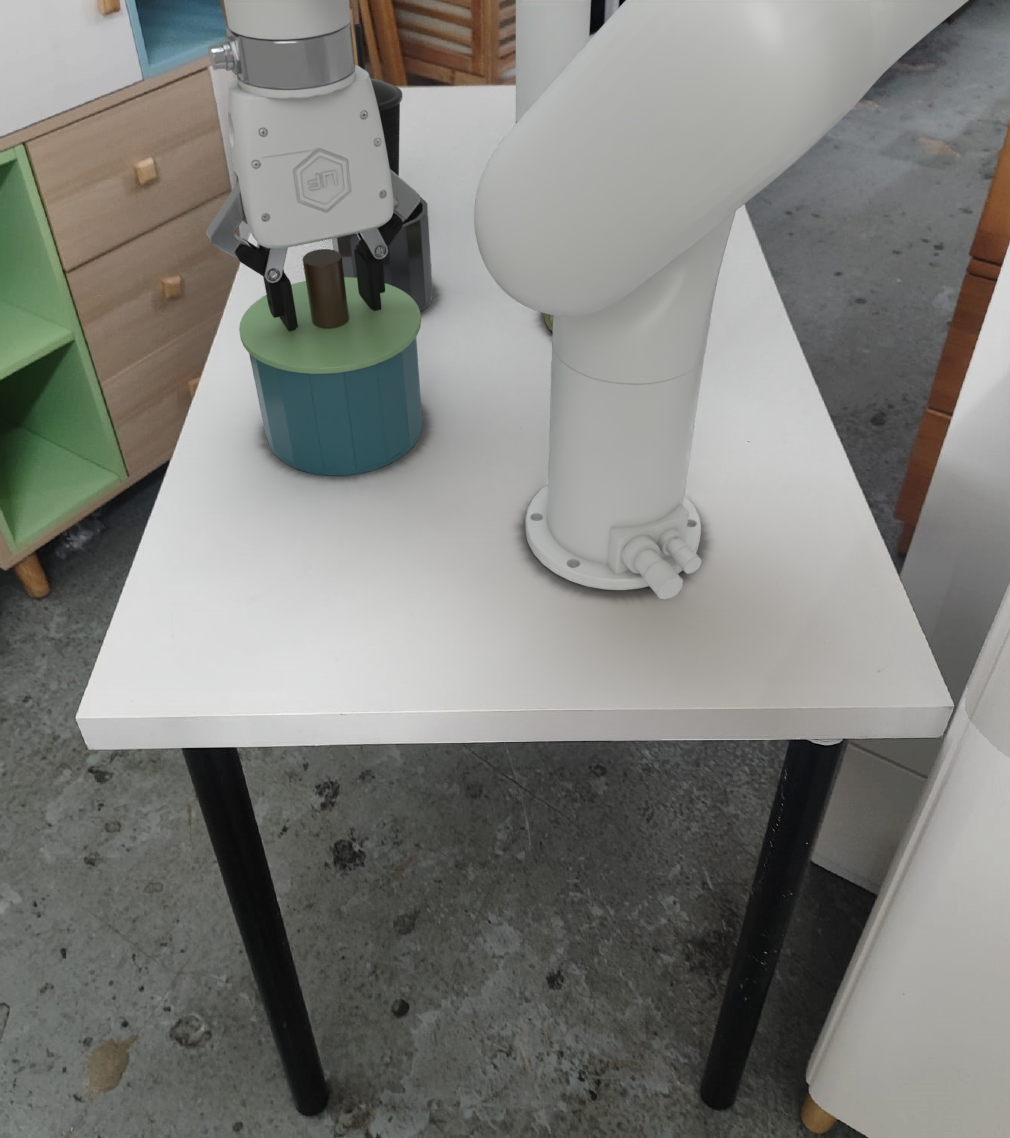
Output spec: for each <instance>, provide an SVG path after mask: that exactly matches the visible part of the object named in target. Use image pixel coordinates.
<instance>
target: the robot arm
mask: <svg viewBox="0 0 1010 1138" xmlns="http://www.w3.org/2000/svg"><path fill="white" fill-rule="evenodd" d="M968 2H969V0H624V1H623V3H622V4H621V5H620V6H619V7H618V8H617V9H616V10H615V11H614V12H613V14H611V16H609V18H608V19H607V20H606V21H605V22H604V23H603V25H602V26H601V27H600V28H599V29H598V30H597V31H596V32H595V33H594V35H593V36H592V37H591V38H589V42H588V43H587V44H586V45H585V46H584V47H583V49H582V50H581V51H580V52H579V53H578V54H577V55H576V57H575V58H574V59H573V60H572V61H571V62H570V63H569V64H568V66H567V67H566V68H565V69H564V70H563V71H562V72H561V73H560V75H559V76H558V77H557V78H556V79H555V80H554V81H553V83H552V84H551V85H550V86H549V87H548V88H547V89H546V90H545V92H544V93H543V94H542V95H541V96H540V97H539V98H538V99H537V101H536V102H535V103H534V104H533V105H532V106H531V107H530V109H529V110H528V111H527V112H526V113H525V114H524V115H523V116H522V118H521V119H520V120H519V121H518V122H517V123H516V122H515V124H514V126H513V127H511V129H510V130H509V131H508V132H507V133H506V135H504V137H503V138H502V140H501V141H500V142H499V143H498V145H497V146H496V147H495V149H494V150H493V151H492V153H491V155H490V157H489V158H488V160H487V162H486V164H485V167H484V169H483V171H482V173H481V175H480V178H479V182H478V185H477V190H476V194H475V200H474V209H473V211H474V212H473V215H474V216H473V221H474V222H473V223H474V233H475V239H476V243H477V247H478V251H479V254H480V256H481V259H482V261H483V263H484V266H485V268H486V269H487V271H488V273H489V276H491V278H492V279H493V280H494V282H495V283H496V285H498V287H500V288H501V290H502V291H503V292H504V293H505V294H506V295H508V296H509V297H510V298H512V299H513V300H514V301H516V302H517V303H519V304H521V305H522V306H524V307H526V308H529V309H531V310H533V311H536V312H539V313H542V314H544V313H546V314H550V315H553V331H552V341H551V363H550V395H549V396H550V398H549V399H550V401H549V432H548V433H549V436H548V439H549V440H548V467H547V468H548V470H547V471H548V473H547V484H546V485H544V486H543V487H542V488H541V489H540V490H539V491H537V493H535V495H534V496H533V497H532V499H531V501H530V503H529V504H528V507H527V509H526V514H525V521H524V522H525V537H526V541H527V544H528V546H529V548H530V550H531V552H532V553H533V555H534V556H535V557H536V558H537V559H538V561H540V563H541V564H542V565H543V566H545V567H546V568H547V569H549V570H550V571H551V572H553V573H554V574H555V575H557V576H560V577H561V578H564V579H565V580H567V581H570V582H572V583H575V584H579V585H581V586H584V587H588V588H594V589H599V590H610V591H627V590H629V591H630V590H638V589H643V588H647V587H649V588H650V589H651V590H652V591H653V592H654V593H655V595H656V596H657V597H658V598H659V599H660V600H663V601H667V600H670V599H672V598H674V597H675V596H677V595H678V594H679V593H680V592H681V590H682V588H683V585H684V579H683V578H682V577H681V576H680V575H679V574H680V573H682V571H683V572H684V573H685V574H687V575H688V574H693V573H695V572H697V571H698V570H699V569H700V568H701V566H702V563H703V562H702V559H701V557H700V556H699V555H698V554H697V553H698V550H699V547H700V542H701V535H702V522H701V517H700V515H699V513H698V510H697V508H696V506H695V504H693V502H692V501H691V500H690V499H689V498H688V496H687V495H686V493H685V492H686V487H687V479H688V472H689V466H690V459H691V452H692V445H693V438H694V431H695V424H696V417H697V410H698V405H699V397H700V390H701V384H702V375H703V369H704V361H705V355H706V353H707V346H708V345H707V344H708V338H709V332H710V324H711V320H712V319H711V318H712V313H713V305H714V300H715V296H716V290H717V285H718V281H719V275H720V271H721V268H722V263H723V259H724V255H725V252H726V248H727V246H728V245H727V244H728V241H729V238H730V234H731V232H732V231H731V230H732V227H733V223H734V219H735V216H736V212H737V211H738V210H739V209H740V208H742V207H743V206H744V205H745V204H747V203H748V202H749V201H751V200H752V199H753V198H754V197H756V195H758V194H759V193H760V192H761V191H763V190H765V188H766V187H768V186H769V185H770V184H771V183H773V182H774V181H775V180H776V179H777V178H779V177H780V176H781V175H782V174H783V173H785V172H786V171H787V170H788V169H789V168H791V167H792V166H793V165H794V164H795V163H797V161H798V160H800V159H801V158H802V157H803V156H804V155H805V154H806V153H807V152H808V151H810V150H811V149H812V148H813V147H814V146H815V145H816V144H817V143H818V142H819V141H820V140H821V139H822V138H824V136H825V135H827V133H828V132H830V131H831V130H832V129H833V128H834V127H836V125H837V124H838V123H839V122H840V121H841V120H842V119H844V117H845V116H846V115H847V114H848V113H849V112H850V111H851V110H853V108H854V107H855V106H856V105H857V104H858V103H859V102H860V100H862V98H863V97H865V95H866V94H867V93H868V91H869V90H870V89H871V88H872V87H873V85H874V84H876V82H877V81H878V80H880V78H881V77H882V76H883V75H884V74H885V73H886V71H887V70H889V69H890V68H891V67H892V66H893V65H894V64H895V63H896V62H897V61H899V59H901V58H902V57H903V56H904V55H905V54H906V53H907V52H908V51H910V49H912V48H913V47H914V46H915V45H916V44H917V43H919V42H920V41H921V40H923V39H924V37H926V36H927V35H929V33H930V32H932V31H933V30H934V29H935V28H937V27H938V26H939V25H940V24H942V23H943V22H944V21H946V19H947V18H949V17H950V16H951V15H952V14H954V13H955V12H956V11H957V10H959V9H960V8H961V7H962V6H964V5H965V4H966V3H968ZM223 5H224V11H225V16H226V21H227V26H226V27H225V32H226V36H224V41H222V42H221V41H220V42H219V44H217V45H210V46H208V56H209V60H210V64H211V67H212V70H214V71H219V70H224V69H225V71H227V72H229V71H231V72H232V73H233V74H234V75H235V77H233V78H231V79H230V80H229V82H228V88H227V90H228V91H227V117H228V118H227V123H228V136H229V137H228V138H229V151H230V159H231V160H230V161H231V170H232V180H233V188H232V189H231V191H230V193H228V196H227V197H226V199H225V200H224V202H223V204H222V205H221V207H220V208H219V210H218V211H217V213H216V214H215V216H214V217H213V219H212V220H211V222H210V223H209V225H208V227H207V228H206V231H205V235H206V237H207V238H208V240H209V242H210V244H211V245H212V246H213V247H215V248H217V249H219V250H220V251H222V252H223V253H226V254H227V255H228V256H230V257H233V258H235V259H236V260H238V261H239V262H240V263H241V264H242V265H244V266H246V267H248V268H249V269H251V270H252V271H254V272H255V273H257V274H258V275H260V276H262V277H263V284H264V289H265V295H267V300H268V306H269V309H270V312H271V314H272V316H273V317H274V318H276V317H280V319H281V320H282V322H283V324H284V325H285V327H286V328H287V330H288V331H293V330H296V328H298V323H297V317H296V311H295V305H294V298H293V292H292V286H291V285H292V282H291V280H290V279H289V277H288V276H287V274H286V273H285V269H284V268H285V263H286V259H287V258H286V257H287V253H288V250H289V248H293V247H298V246H303V245H308V244H313V243H318V242H323V241H327V240H332V238H337V237H342V236H346V235H351V234H355V233H356V234H357V236H358V237H359V239H360V241H359V243H358V244H359V245H355V246H356V249H355V250H354V256H355V265H356V273H357V282H358V291H359V295H360V296H361V298H362V299H363V300H364V301H365V303H366V304H367V305H368V306H369V308H370V309H371V310H374V311H377V310H381V297H380V293H384V292H385V281H384V270H383V258H384V257H386V255H387V253H388V248H387V247H388V246H389V245H390V243H391V242H392V240H393V239H394V238H395V236H396V235H397V234H398V232H399V231H400V230H401V228H402V226H403V222H404V220H405V219H407V218H408V217H409V215H410V214H411V213H412V212H413V210H414V209H415V208H416V206H417V205H418V204H419V202H420V197H421V196H420V194H419V193H418V191H416V190H415V189H414V188H413V187H412V186H411V185H410V184H408V183H407V182H406V181H405V180H403V179H402V178H401V177H400V175H399V176H398V175H396V174H395V173H394V172H393V171H392V170H391V169H390V168H389V162H388V156H387V150H386V144H385V139H384V134H383V128H382V124H381V119H380V114H379V109H378V105H377V101H376V97H375V93H374V89H373V86H372V82H371V79H372V78H371V77H370V73H369V72H368V71H367V70H366V69H365V70H364V69H362V68H361V67H359V66H358V64H356V60H355V48H354V38H353V27H352V20H351V18H352V17H351V9H350V0H223ZM242 222H244V223H245V224H246V225H247V226H248V229H249V232H250V234H251V236H252V237H253V239H254V240H255V241H256V242H257V243H256V245H255V244H253V243H251V242H250V241H248V240H247V239H245V238H242V237H240V236H239V235H237V234H236V232H237V230H238V228H239V226H240V225H241V224H242Z"/></svg>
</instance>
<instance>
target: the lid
mask: <svg viewBox="0 0 1010 1138" xmlns="http://www.w3.org/2000/svg"><path fill="white" fill-rule="evenodd" d="M302 265H303V272H304V278H305V279H304V281H300V282H295V283H291V286H292V292H293V298H294V305H295V311H296V317H297V323H298V328H296V330H293V331H288V330H287V328H286V327H285V325H284V324H283V322H282V320H281V319H280V317H276V318H274V317H273V316H272V314H271V312H270V309H269V306H268V300H267V295H266V294H265V295H264V296H262V297H260V298H259V299H258V300H256V301H255V302H254V303H253V304H252V305H250V306H249V308H247V310H246V311H245V312H244V313H243V315H242V317H241V320H240V323H239V327H238V328H239V329H238V330H239V331H238V332H239V337H240V341H241V344H242V346H243V347H244V349H245V350H246V351H247V353H248V354H249V353H250V354H251V355H252V356H253V357H254V358H256V359H258V360H259V361H261V362H263V363H265V364H267V365H269V366H272V367H275V368H278V369H282V370H286V371H291V372H298V373H309V374H328V373H340V372H347V371H353V370H357V369H362V368H365V367H369V366H372V365H375V364H378V363H380V362H383V361H385V360H387V359H389V358H391V357H393V356H395V355H396V354H398V353H400V352H401V351H403V350H404V349H405V348H406V347H408V346H409V345H410V344H411V343H412V341H413V340H414V339H415V338H416V339H417V336H418V335H419V332H420V329H421V326H422V325H421V324H422V316H421V312H420V310H419V308H418V305H417V304H416V302H415V301H414V300H413V299H412V298H411V297H410V296H409V295H408V294H406V293H405V292H404V291H402V290H400V289H398V288H396V287H394V286H391V285H389V284H386V283H385V292H384V293H380V297H381V310H377V311H374V310H371V309H370V308H369V306H368V305H367V304H366V303H365V301H364V300H363V299H362V298H361V296H360V295H359V291H358V282H357V278H351V277H344V272H343V264H342V256H341V254H340V253H339V252H337V251H335V250H333V249H329V248H321V249H320V248H319V249H315V250H311V251H309V252H307V253H305V254H304V255H303V257H302Z"/></svg>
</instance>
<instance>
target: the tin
mask: <svg viewBox="0 0 1010 1138" xmlns="http://www.w3.org/2000/svg"><path fill="white" fill-rule="evenodd" d="M248 355H249V360H250V364H251V370H252V375H253V380H254V384H255V390H256V394H257V400H258V404H259V409H260V414H261V420H262V423H263V428H264V429H263V430H264V433H265V434H264V435H265V437H266V439H267V443H268V445H269V447H270V449H271V451H272V452H273V454H274V455H275V456H276V457H277V458H278V459H279V460H280V461H282V462H283V463H284V464H286V465H288V466H290V467H292V468H294V469H296V470H299V471H301V472H305V473H308V474H313V475H320V476H331V477H332V476H351V475H357V474H364V473H367V472H368V473H369V472H372V471H375V470H378V469H381V468H383V467H386V466H388V465H390V464H392V463H394V462H396V461H398V460H399V459H402V457H403V456H405V455H406V454H408V453H409V452H410V451H411V450H412V449H413V448H414V447H415V445H416V444H417V442H418V440H419V439H420V437H421V435H422V434H421V433H422V431H423V410H422V409H423V408H422V397H421V383H420V369H419V357H418V356H419V355H418V340H417V337H416V338H415V339H414V340H413V341H412V343H411V344H410V345H409V346H408V347H406V348H405V349H404V350H403V351H401V352H400V353H398V354H396V355H395V356H393V357H391V358H389V359H387V360H385V361H383V362H380V363H378V364H375V365H372V366H369V367H365V368H362V369H357V370H353V371H347V372H340V373H328V374H309V373H298V372H291V371H286V370H282V369H278V368H275V367H272V366H269V365H267V364H265V363H263V362H261V361H259V360H258V359H256V358H254V357H253V356H252V355H251V354H250V353H249V352H248Z"/></svg>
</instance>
